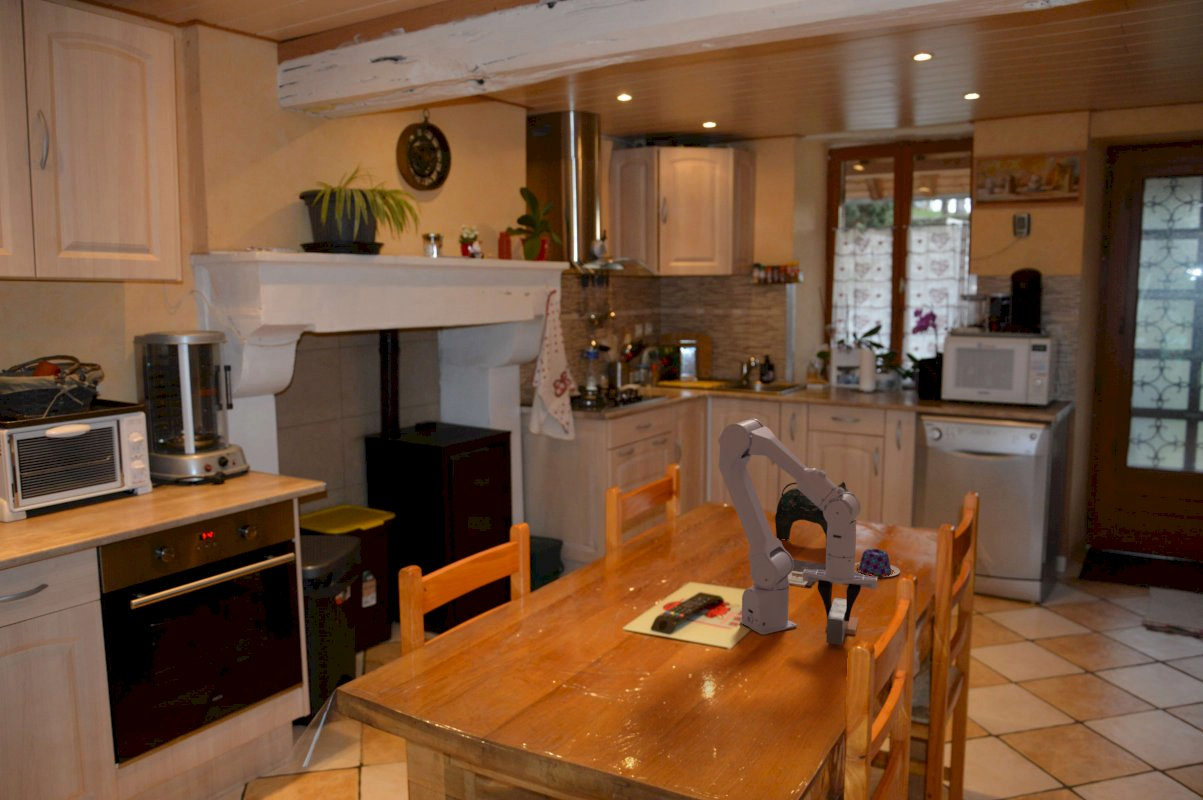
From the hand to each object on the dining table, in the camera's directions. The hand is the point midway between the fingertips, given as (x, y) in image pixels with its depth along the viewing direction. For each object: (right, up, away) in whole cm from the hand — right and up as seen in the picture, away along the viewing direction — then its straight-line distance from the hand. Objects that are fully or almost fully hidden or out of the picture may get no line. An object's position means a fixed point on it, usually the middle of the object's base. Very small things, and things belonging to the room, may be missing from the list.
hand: (838, 618), depth 187 cm
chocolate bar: (+1, +1, +41) cm, 41 cm away
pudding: (+20, +1, +44) cm, 48 cm away
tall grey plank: (0, -3, 0) cm, 3 cm away
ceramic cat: (+9, +5, +67) cm, 68 cm away
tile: (+1, -4, +4) cm, 5 cm away
